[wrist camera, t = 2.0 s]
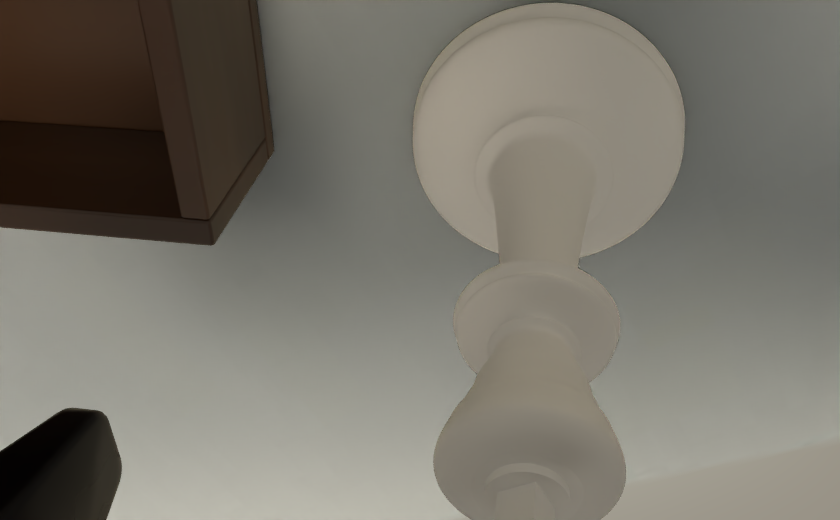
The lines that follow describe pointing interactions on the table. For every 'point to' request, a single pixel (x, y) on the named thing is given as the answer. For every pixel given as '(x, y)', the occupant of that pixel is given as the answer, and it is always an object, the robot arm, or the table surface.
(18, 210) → the grid
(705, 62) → the table surface
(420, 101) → the chess piece
